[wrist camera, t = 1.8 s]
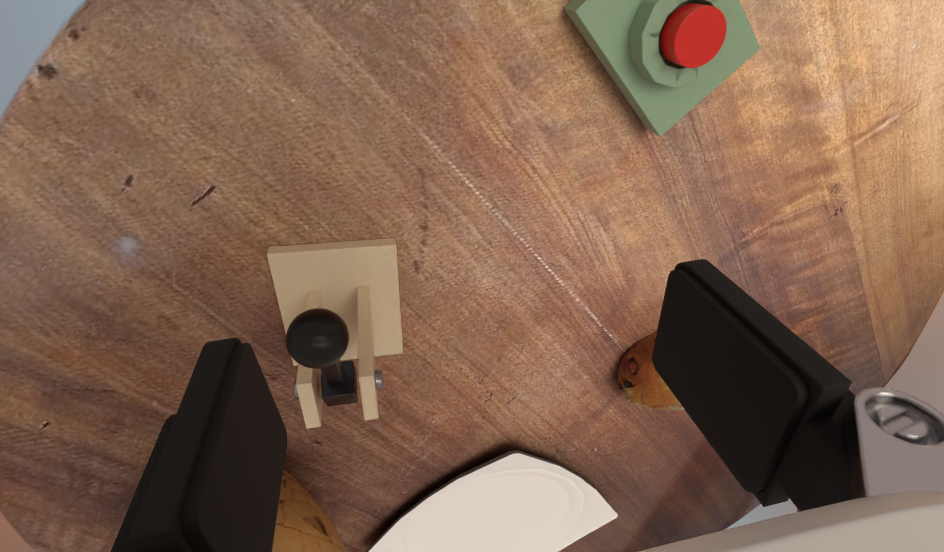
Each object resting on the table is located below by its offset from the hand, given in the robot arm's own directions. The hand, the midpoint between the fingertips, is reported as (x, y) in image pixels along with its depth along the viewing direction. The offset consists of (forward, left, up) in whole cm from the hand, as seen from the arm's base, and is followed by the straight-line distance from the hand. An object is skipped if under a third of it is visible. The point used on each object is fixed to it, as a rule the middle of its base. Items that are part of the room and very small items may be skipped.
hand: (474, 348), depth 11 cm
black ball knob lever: (+6, -13, -16) cm, 22 cm away
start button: (+11, +16, -24) cm, 31 cm away
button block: (+11, +16, -28) cm, 34 cm away
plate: (+49, -34, -28) cm, 66 cm away
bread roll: (+42, -2, -28) cm, 51 cm away
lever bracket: (+9, -17, -28) cm, 34 cm away
